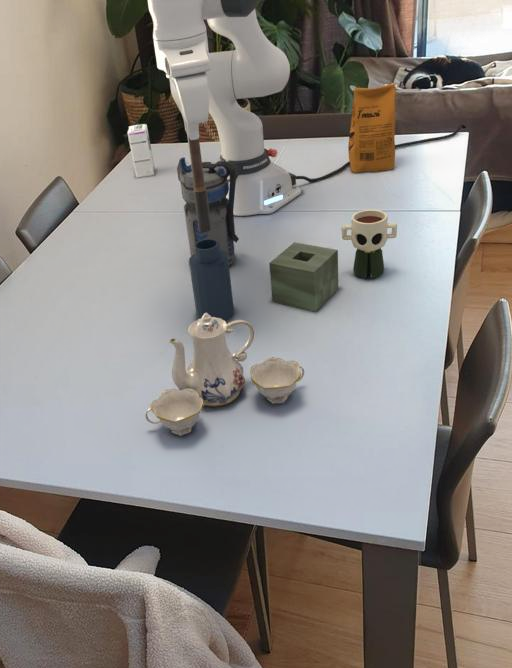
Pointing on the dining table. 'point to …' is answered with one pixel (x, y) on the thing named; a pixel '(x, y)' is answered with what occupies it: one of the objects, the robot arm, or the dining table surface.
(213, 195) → the beverage bottle
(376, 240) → the character mug
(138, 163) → the syrup box
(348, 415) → the dining table surface
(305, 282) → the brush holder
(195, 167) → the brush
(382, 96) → the coffee package
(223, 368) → the chinaware
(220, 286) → the steel bottle
